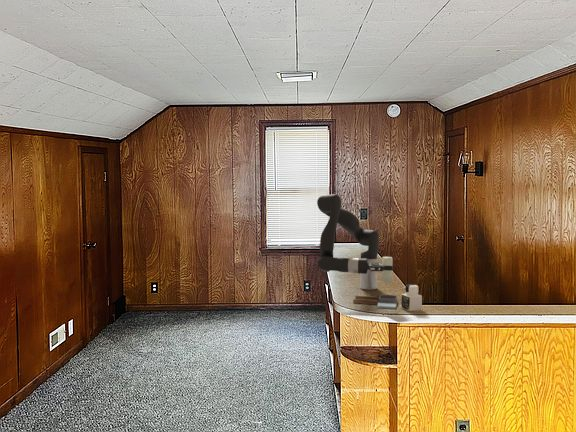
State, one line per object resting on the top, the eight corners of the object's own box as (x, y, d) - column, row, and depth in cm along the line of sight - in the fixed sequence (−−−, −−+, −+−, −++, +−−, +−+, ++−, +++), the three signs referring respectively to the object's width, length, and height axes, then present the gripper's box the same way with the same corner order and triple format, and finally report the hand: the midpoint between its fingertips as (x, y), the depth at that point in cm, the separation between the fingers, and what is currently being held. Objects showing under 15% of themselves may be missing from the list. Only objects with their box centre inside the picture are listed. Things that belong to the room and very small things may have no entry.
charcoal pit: (380, 300, 308) (380, 294, 307) (396, 301, 306) (396, 295, 305) (378, 304, 299) (378, 298, 299) (396, 305, 297) (396, 299, 297)
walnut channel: (355, 299, 311) (355, 295, 311) (378, 300, 308) (378, 296, 308) (353, 302, 302) (353, 299, 302) (377, 304, 299) (377, 300, 299)
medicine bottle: (401, 308, 291) (401, 283, 290) (413, 306, 294) (414, 282, 293) (409, 311, 285) (409, 286, 284) (421, 310, 287) (422, 285, 286)
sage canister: (382, 280, 296) (382, 256, 295) (392, 280, 295) (392, 256, 294) (381, 282, 291) (381, 257, 290) (391, 282, 290) (392, 258, 289)
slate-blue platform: (378, 304, 299) (378, 302, 299) (396, 305, 297) (396, 303, 297) (377, 307, 292) (377, 305, 292) (395, 308, 290) (395, 306, 289)
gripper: (356, 260, 289) (392, 262, 285) (359, 256, 302) (393, 257, 299) (356, 275, 289) (391, 277, 285) (359, 270, 303) (393, 272, 299)
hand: (392, 267), depth 292 cm, fingers closed on sage canister, 5 cm apart
